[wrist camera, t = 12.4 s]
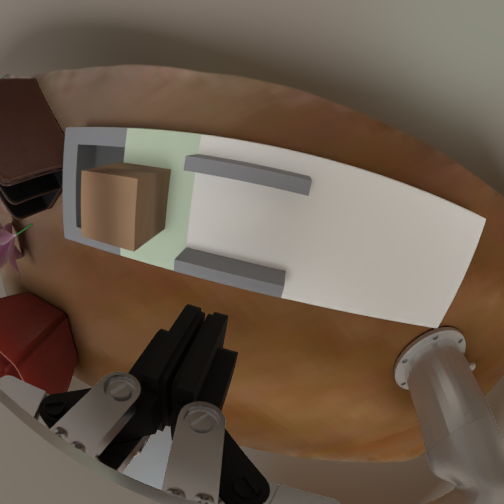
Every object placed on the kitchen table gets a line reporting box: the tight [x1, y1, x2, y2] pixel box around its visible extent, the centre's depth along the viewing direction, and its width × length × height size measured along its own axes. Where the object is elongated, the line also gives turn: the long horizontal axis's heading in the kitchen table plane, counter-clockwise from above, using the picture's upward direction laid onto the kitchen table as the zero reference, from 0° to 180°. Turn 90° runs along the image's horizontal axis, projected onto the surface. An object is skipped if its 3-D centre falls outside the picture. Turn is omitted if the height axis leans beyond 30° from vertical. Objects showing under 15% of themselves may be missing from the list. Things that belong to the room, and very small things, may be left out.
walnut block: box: [81, 162, 171, 252], centre depth 23 cm, size 6×6×6 cm
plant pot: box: [0, 292, 78, 395], centre depth 36 cm, size 19×19×17 cm
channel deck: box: [63, 126, 486, 328], centre depth 25 cm, size 48×14×7 cm, turn 79°
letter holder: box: [0, 78, 65, 220], centre depth 22 cm, size 10×20×14 cm, turn 36°
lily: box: [0, 223, 32, 275], centre depth 32 cm, size 12×12×10 cm
